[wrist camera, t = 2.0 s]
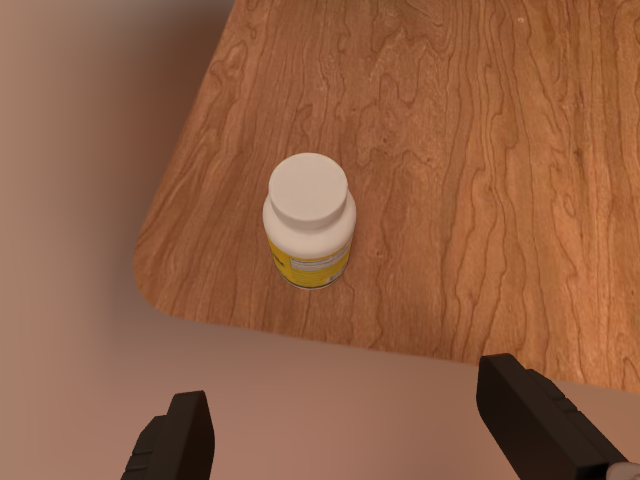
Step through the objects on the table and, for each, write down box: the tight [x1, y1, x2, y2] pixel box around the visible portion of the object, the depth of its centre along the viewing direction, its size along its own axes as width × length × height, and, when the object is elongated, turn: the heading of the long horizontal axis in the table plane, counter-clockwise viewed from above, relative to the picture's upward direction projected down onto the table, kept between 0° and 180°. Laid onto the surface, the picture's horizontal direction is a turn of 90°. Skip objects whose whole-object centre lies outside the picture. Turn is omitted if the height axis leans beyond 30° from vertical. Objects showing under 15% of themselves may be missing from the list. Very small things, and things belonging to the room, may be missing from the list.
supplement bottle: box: [263, 153, 356, 290], centre depth 23 cm, size 5×5×10 cm
